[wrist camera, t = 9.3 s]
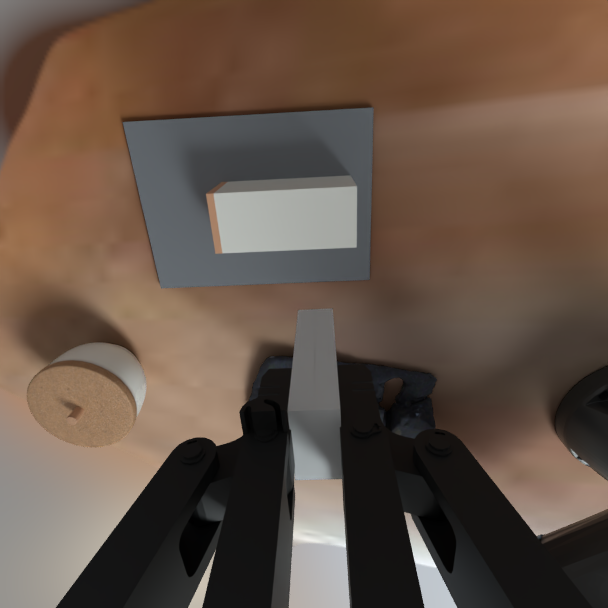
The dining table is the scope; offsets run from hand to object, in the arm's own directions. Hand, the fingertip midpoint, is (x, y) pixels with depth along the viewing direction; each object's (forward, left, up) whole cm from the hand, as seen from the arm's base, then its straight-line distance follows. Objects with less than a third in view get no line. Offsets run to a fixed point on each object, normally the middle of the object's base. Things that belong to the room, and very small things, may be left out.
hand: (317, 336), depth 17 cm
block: (+1, +9, -20) cm, 22 cm away
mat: (+1, +6, -23) cm, 24 cm away
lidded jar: (-17, +25, -24) cm, 38 cm away
